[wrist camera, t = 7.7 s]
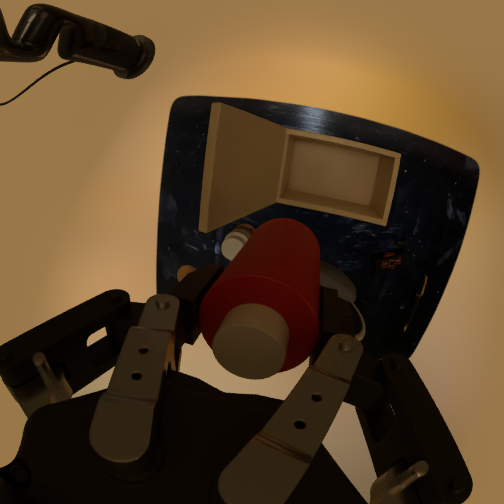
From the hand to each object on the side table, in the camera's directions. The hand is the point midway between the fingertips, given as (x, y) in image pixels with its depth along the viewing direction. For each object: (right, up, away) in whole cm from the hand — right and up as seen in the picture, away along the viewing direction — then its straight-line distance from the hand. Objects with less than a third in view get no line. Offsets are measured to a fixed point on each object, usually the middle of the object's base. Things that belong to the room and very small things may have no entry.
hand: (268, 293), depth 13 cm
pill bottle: (-2, +5, +39) cm, 40 cm away
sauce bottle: (+1, +2, +5) cm, 6 cm away
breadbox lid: (0, +11, +15) cm, 18 cm away
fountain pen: (+33, -8, +36) cm, 49 cm away
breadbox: (+13, +16, +31) cm, 38 cm away
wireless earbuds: (+26, +2, +34) cm, 42 cm away
